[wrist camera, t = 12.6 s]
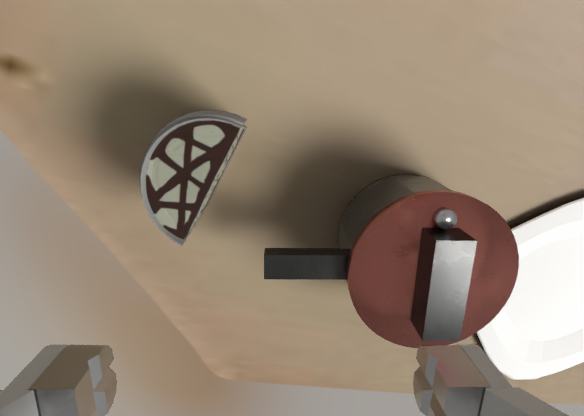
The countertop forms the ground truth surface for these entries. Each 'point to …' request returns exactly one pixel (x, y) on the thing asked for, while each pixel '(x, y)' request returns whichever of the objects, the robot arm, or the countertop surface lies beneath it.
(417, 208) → the lid
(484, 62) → the countertop surface
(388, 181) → the pot
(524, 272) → the plate
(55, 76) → the countertop surface
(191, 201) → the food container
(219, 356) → the countertop surface
